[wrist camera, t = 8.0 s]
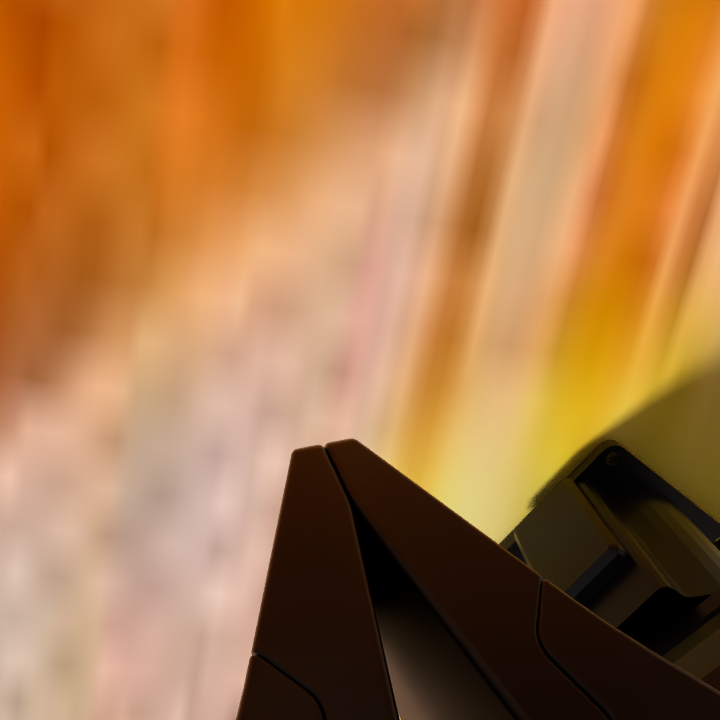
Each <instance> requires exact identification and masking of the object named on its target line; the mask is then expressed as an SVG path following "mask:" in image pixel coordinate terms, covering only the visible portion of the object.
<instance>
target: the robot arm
mask: <svg viewBox="0 0 720 720" xmlns="http://www.w3.org/2000/svg"><path fill="white" fill-rule="evenodd" d="M611 452H616V455H615V456H614V458H612V459H611V460H606V457H607V456H608V454H610V453H611ZM718 537H720V522H718V521H717V520H716V519H715V518H713V517H712V516H711V515H710V514H708V513H707V512H706V511H704V510H703V509H702V508H701V507H699V506H698V505H697V504H696V503H694V502H693V501H692V500H691V499H689V498H688V497H687V496H686V495H684V494H683V493H682V492H681V491H679V490H678V489H677V488H676V487H674V486H673V485H672V484H671V483H669V482H668V481H667V480H666V479H664V478H663V477H662V476H660V475H659V474H658V473H657V472H655V471H654V470H653V469H652V468H650V467H649V466H648V465H647V464H645V463H644V462H643V461H642V460H640V459H639V458H638V457H637V456H635V455H634V454H633V453H632V452H630V451H629V450H628V449H627V448H625V447H624V446H623V445H621V444H620V443H619V442H617V441H615V440H607V441H604V442H602V443H601V444H599V445H598V446H597V447H596V448H595V449H594V450H593V451H592V452H591V453H590V454H589V455H588V456H587V458H586V459H585V460H584V461H583V462H582V463H581V464H580V465H579V466H578V467H577V468H576V469H575V470H574V471H573V472H572V473H571V474H570V475H569V476H568V477H567V478H566V479H565V480H563V481H561V482H560V483H559V484H558V485H557V486H556V487H555V488H554V489H553V490H552V491H551V492H550V493H549V494H548V495H547V496H546V497H545V498H544V499H543V500H542V501H541V503H540V504H539V505H538V506H537V507H536V508H535V509H534V510H533V511H532V512H531V513H530V514H529V515H528V516H527V517H526V518H525V519H524V520H523V521H522V522H521V523H520V524H519V525H518V526H517V527H516V528H515V531H514V533H513V534H512V535H511V536H510V537H509V538H508V539H507V540H506V541H505V542H504V543H503V544H502V545H501V546H500V545H499V544H497V543H496V542H495V541H493V540H492V539H491V538H489V537H488V536H487V535H485V534H484V533H482V532H481V531H480V530H478V529H477V528H476V527H474V526H473V525H472V524H470V523H469V522H468V521H466V520H465V519H463V518H462V517H461V516H459V515H458V514H457V513H455V512H454V511H453V510H451V509H450V508H448V507H447V506H446V505H444V504H443V503H442V502H440V501H439V500H438V499H436V498H435V497H434V496H432V495H431V494H429V493H428V492H427V491H425V490H424V489H423V488H421V487H420V486H419V485H417V484H416V483H414V482H413V481H412V480H410V479H409V478H408V477H406V476H405V475H404V474H402V473H401V472H400V471H398V470H397V469H395V468H394V467H393V466H391V465H390V464H389V463H387V462H386V461H385V460H383V459H382V458H380V457H379V456H378V455H376V454H375V453H374V452H372V451H371V450H370V449H368V448H367V447H366V446H364V445H363V444H361V443H360V442H359V441H357V440H355V439H345V440H340V441H335V442H330V443H327V444H326V445H325V447H323V446H321V445H315V446H309V447H304V448H299V449H295V450H294V451H293V453H292V455H291V460H290V465H289V470H288V475H287V480H286V485H285V489H284V494H283V499H282V504H281V509H280V514H279V519H278V524H277V529H276V534H275V539H274V544H273V549H272V553H271V558H270V563H269V568H268V573H267V578H266V583H265V588H264V593H263V598H262V603H261V608H260V613H259V618H258V622H257V627H256V632H255V637H254V642H253V647H252V656H251V657H250V660H249V665H248V670H247V674H246V679H245V684H244V689H243V693H242V697H241V701H240V705H239V709H238V713H237V718H236V720H400V719H399V716H400V718H401V720H720V539H719V540H718V541H717V542H714V541H715V539H717V538H718ZM398 713H399V714H398Z"/></svg>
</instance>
